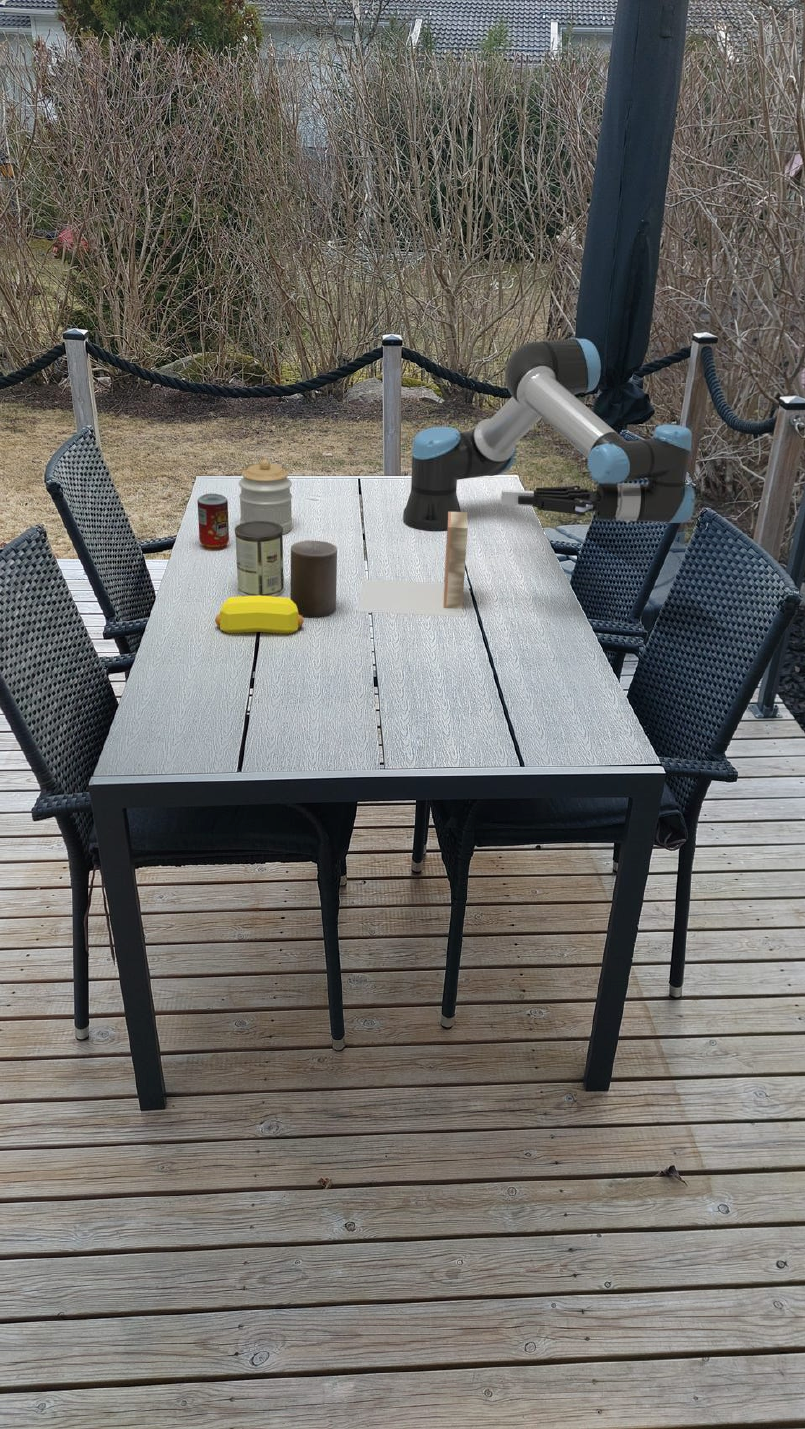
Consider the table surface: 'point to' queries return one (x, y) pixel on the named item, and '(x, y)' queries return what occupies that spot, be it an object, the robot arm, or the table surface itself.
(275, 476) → the jar
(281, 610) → the hot dog
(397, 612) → the rubber mat
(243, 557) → the coffee can
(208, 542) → the soda can
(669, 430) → the robot arm
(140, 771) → the table surface
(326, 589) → the pillar candle
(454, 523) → the birch board
